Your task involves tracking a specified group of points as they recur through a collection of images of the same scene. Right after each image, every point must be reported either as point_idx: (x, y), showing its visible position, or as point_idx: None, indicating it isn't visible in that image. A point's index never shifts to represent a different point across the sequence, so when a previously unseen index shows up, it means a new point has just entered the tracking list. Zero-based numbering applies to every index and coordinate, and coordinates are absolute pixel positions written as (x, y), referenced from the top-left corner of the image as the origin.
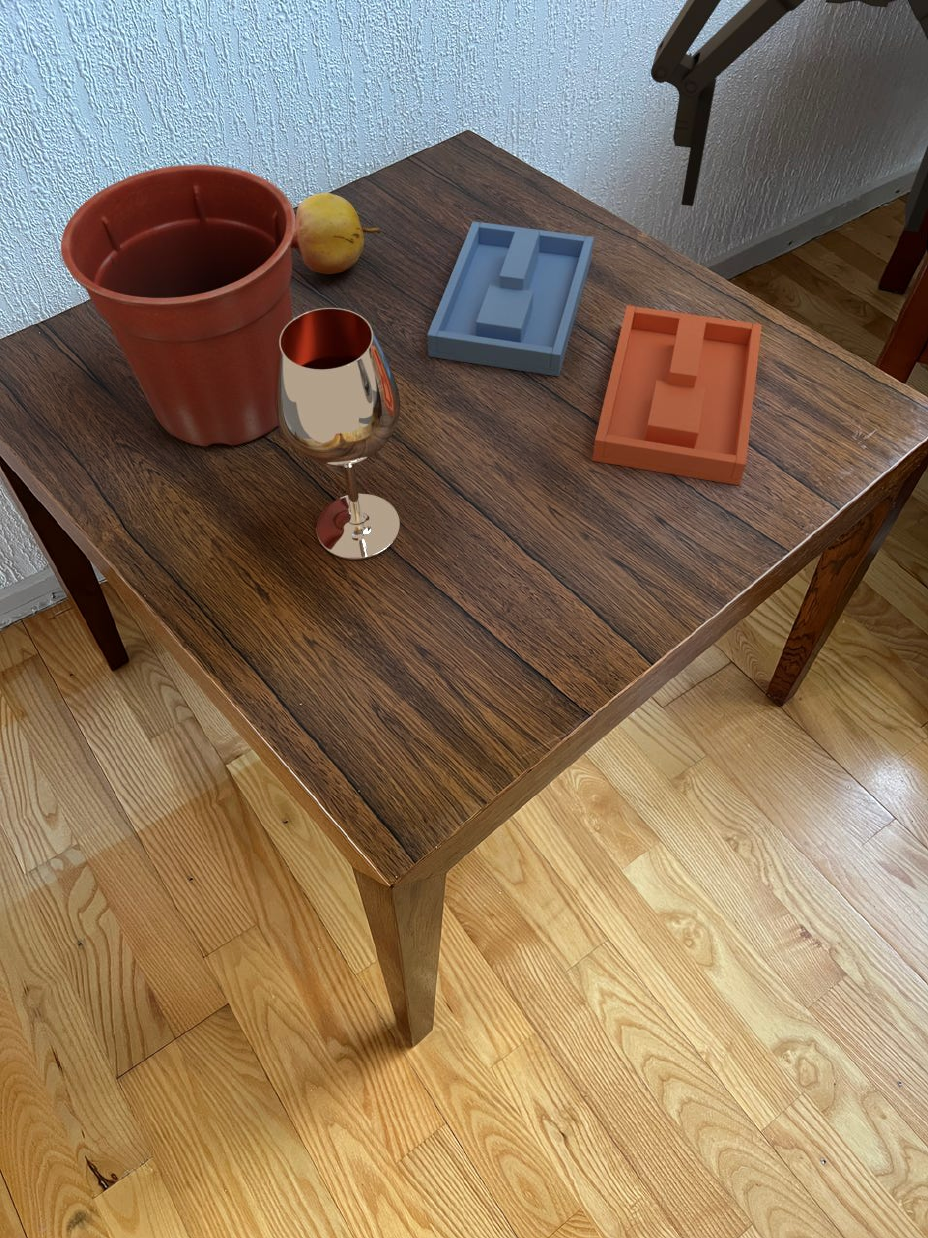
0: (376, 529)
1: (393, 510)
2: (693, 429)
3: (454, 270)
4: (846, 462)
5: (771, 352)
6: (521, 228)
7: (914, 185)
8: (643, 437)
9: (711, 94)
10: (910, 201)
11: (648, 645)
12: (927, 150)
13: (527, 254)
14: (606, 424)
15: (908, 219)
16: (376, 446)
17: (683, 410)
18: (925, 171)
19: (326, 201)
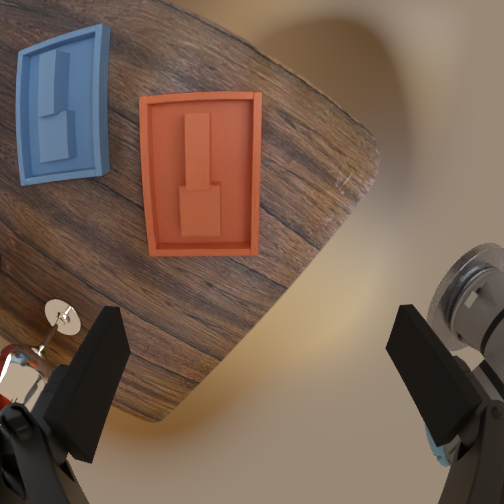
0: (70, 319)
1: (70, 307)
2: (216, 233)
3: (16, 111)
4: (329, 209)
5: (274, 98)
6: (43, 54)
7: (411, 335)
8: None
9: (81, 453)
10: (401, 334)
11: (218, 354)
12: (433, 364)
13: (51, 83)
14: (153, 240)
15: (390, 352)
16: None
17: (205, 215)
18: (415, 386)
19: None
